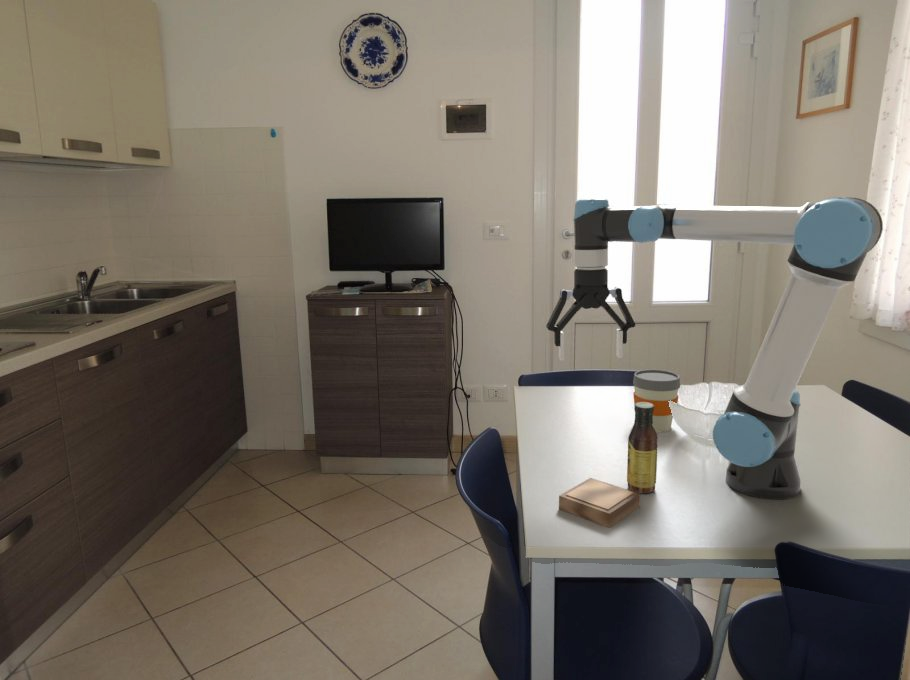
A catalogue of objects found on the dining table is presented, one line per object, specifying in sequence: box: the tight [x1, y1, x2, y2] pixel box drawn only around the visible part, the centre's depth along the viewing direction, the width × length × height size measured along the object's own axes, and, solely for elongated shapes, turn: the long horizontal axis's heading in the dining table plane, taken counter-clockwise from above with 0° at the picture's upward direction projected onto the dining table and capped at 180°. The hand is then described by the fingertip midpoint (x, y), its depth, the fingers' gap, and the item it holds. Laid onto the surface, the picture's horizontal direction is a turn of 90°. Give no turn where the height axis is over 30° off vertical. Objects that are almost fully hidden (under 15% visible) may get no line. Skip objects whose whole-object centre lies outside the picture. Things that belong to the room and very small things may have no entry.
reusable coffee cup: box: [632, 369, 681, 433], centre depth 186 cm, size 12×13×15 cm
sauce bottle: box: [626, 402, 658, 494], centre depth 147 cm, size 7×6×20 cm
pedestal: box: [558, 477, 641, 529], centre depth 140 cm, size 12×12×3 cm
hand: (590, 358), depth 157 cm, fingers open, 13 cm apart
